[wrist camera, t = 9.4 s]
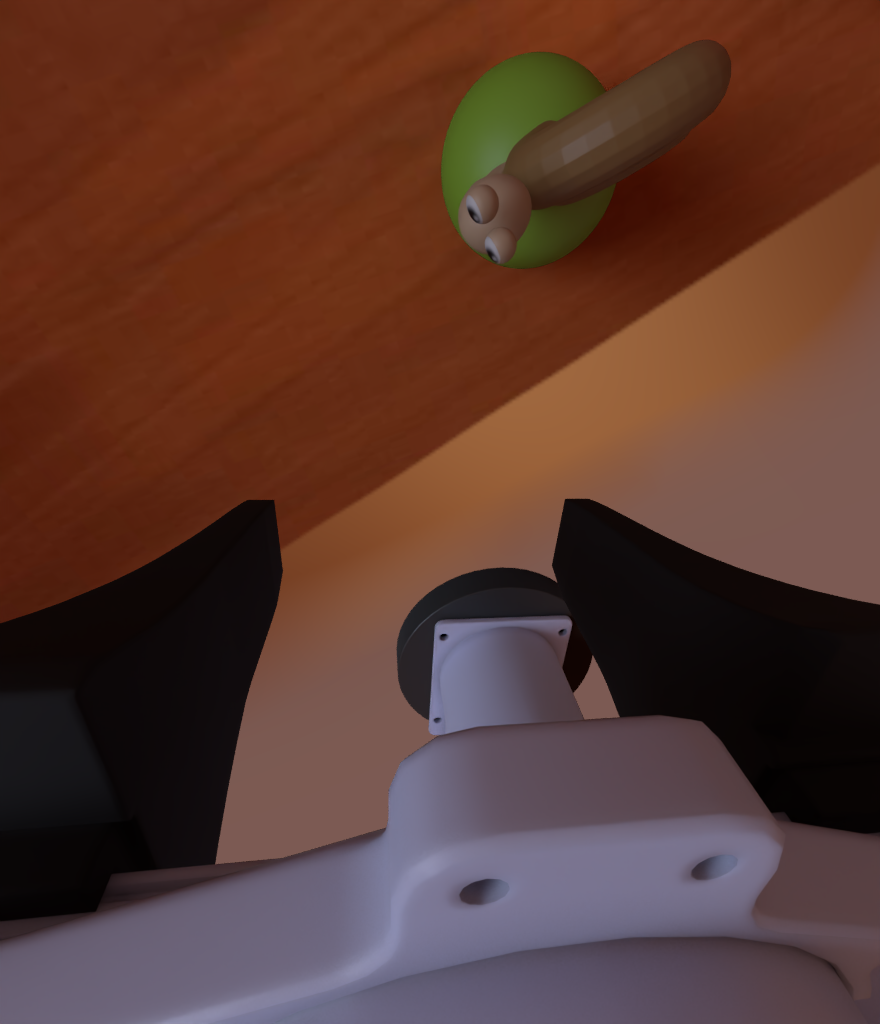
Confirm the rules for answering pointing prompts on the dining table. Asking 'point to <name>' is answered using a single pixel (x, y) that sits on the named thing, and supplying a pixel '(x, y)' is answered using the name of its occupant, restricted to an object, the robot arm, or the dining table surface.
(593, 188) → the snail figurine
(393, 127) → the dining table surface
